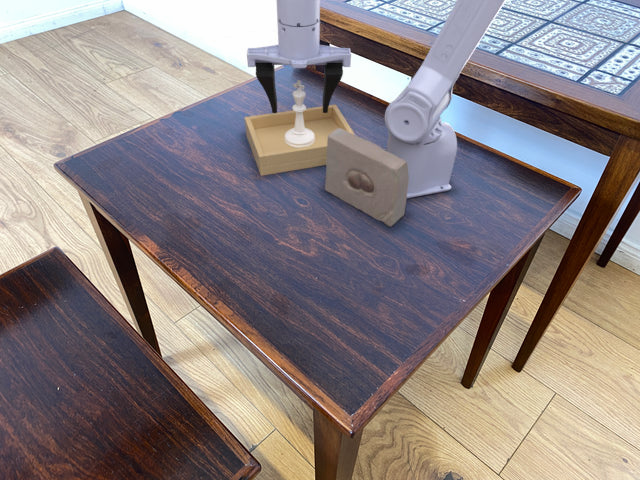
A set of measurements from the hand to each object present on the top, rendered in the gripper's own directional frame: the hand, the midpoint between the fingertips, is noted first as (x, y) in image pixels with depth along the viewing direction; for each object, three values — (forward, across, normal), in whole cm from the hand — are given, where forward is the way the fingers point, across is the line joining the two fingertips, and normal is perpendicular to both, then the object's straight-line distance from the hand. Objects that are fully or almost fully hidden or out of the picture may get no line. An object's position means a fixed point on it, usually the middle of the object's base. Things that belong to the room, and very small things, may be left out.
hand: (299, 109), depth 77 cm
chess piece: (+6, 0, 0) cm, 6 cm away
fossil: (+7, +9, -14) cm, 18 cm away
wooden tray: (+7, 0, 0) cm, 7 cm away
